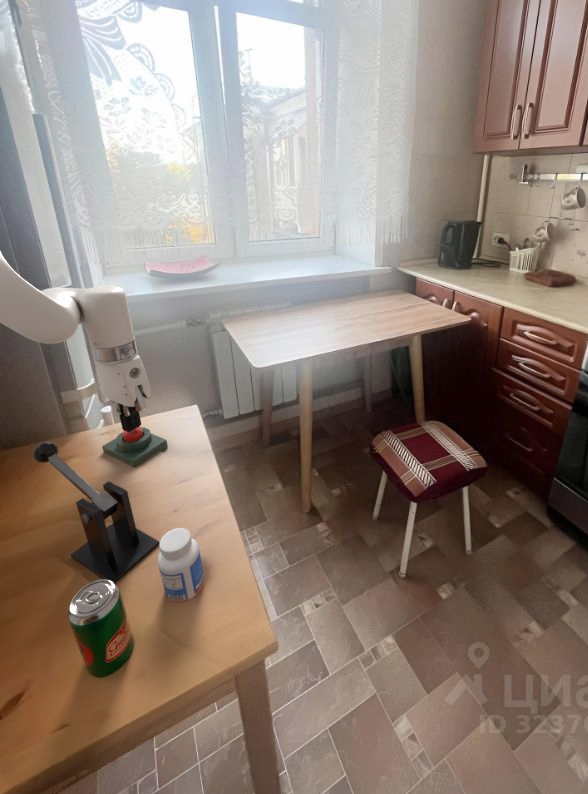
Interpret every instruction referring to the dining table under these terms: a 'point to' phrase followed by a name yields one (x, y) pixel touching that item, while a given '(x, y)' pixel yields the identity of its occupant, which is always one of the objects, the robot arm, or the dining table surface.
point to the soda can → (101, 627)
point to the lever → (75, 478)
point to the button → (133, 435)
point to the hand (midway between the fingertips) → (132, 427)
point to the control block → (135, 448)
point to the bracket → (112, 538)
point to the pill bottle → (180, 565)
